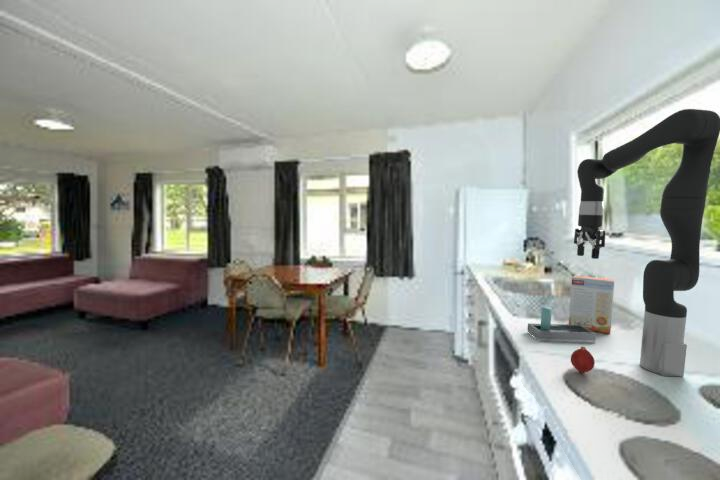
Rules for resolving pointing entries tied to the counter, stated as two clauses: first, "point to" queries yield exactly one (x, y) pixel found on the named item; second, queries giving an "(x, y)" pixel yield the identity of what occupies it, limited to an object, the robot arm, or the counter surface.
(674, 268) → the robot arm
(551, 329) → the grey rectangular tray
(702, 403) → the counter surface
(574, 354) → the onion
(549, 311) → the peg
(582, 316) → the cracker box
